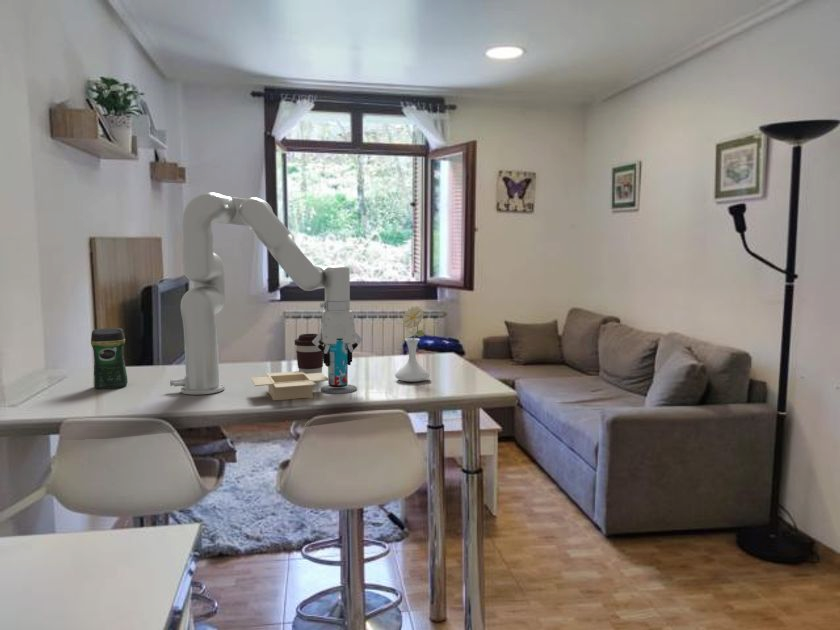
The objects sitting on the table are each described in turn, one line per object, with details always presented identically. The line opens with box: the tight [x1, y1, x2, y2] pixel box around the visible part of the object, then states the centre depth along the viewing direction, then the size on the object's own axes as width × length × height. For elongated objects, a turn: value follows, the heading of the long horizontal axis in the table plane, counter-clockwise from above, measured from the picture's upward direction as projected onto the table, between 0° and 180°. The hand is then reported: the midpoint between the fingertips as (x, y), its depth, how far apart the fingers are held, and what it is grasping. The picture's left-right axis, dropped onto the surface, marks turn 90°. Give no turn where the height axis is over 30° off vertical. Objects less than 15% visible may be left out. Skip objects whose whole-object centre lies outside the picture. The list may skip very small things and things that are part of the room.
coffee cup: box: [294, 333, 324, 374], centre depth 203 cm, size 10×10×15 cm
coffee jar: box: [90, 327, 128, 390], centre depth 193 cm, size 10×8×19 cm
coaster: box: [320, 384, 358, 395], centre depth 188 cm, size 11×11×1 cm
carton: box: [250, 370, 329, 401], centre depth 182 cm, size 21×21×5 cm
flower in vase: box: [394, 305, 430, 383], centre depth 200 cm, size 13×11×25 cm
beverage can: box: [327, 338, 349, 387], centre depth 187 cm, size 6×6×15 cm
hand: (337, 364), depth 188 cm, fingers closed on beverage can, 5 cm apart
